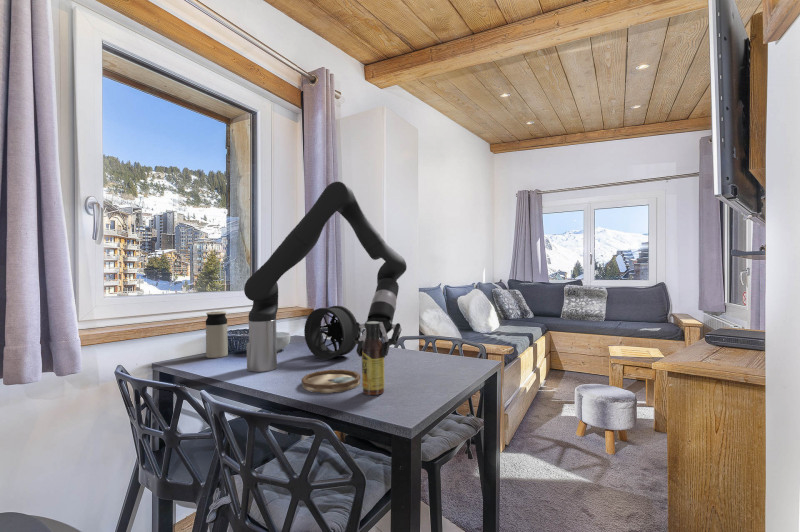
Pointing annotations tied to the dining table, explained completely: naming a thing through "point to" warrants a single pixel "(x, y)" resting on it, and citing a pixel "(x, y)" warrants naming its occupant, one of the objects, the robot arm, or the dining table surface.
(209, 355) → the travel mug
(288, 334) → the cereal bowl
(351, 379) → the brown round tray
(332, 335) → the wheel rim
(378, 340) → the sauce bottle
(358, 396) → the dining table surface
